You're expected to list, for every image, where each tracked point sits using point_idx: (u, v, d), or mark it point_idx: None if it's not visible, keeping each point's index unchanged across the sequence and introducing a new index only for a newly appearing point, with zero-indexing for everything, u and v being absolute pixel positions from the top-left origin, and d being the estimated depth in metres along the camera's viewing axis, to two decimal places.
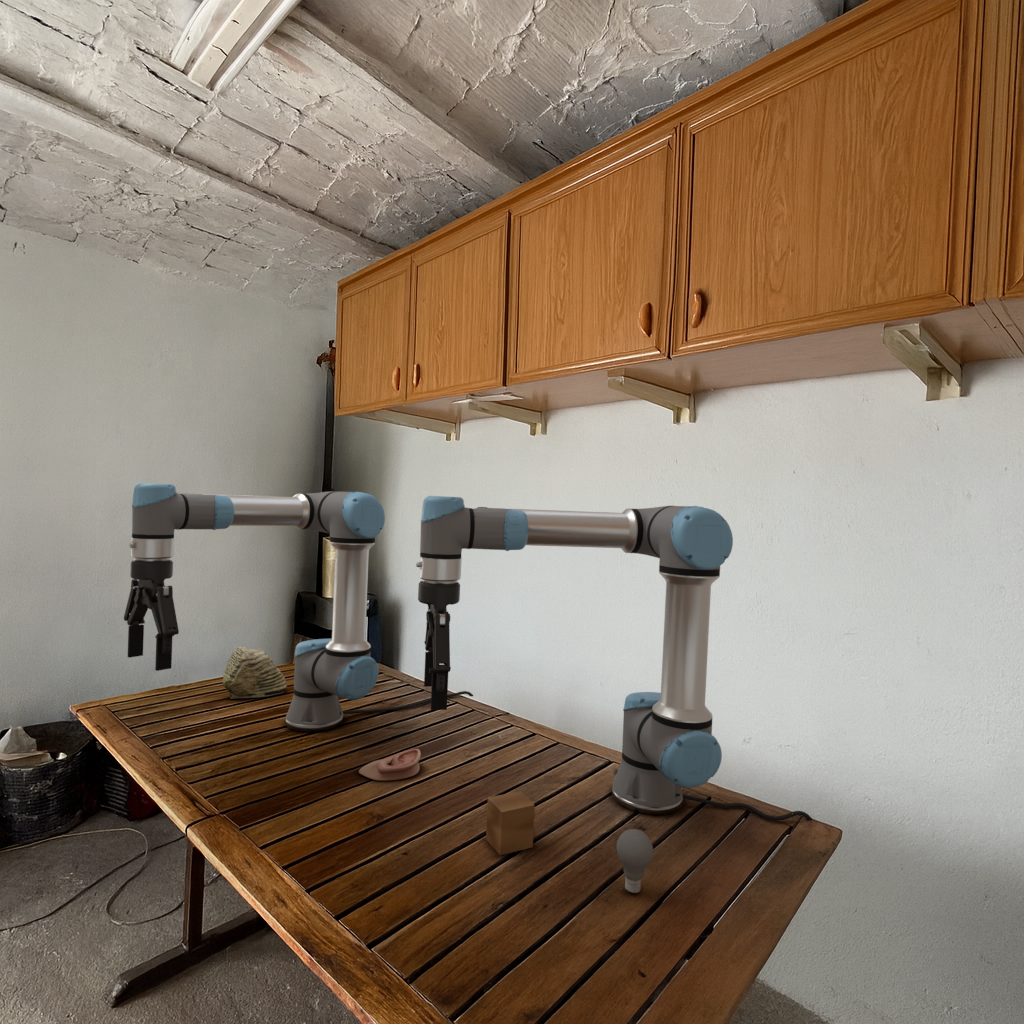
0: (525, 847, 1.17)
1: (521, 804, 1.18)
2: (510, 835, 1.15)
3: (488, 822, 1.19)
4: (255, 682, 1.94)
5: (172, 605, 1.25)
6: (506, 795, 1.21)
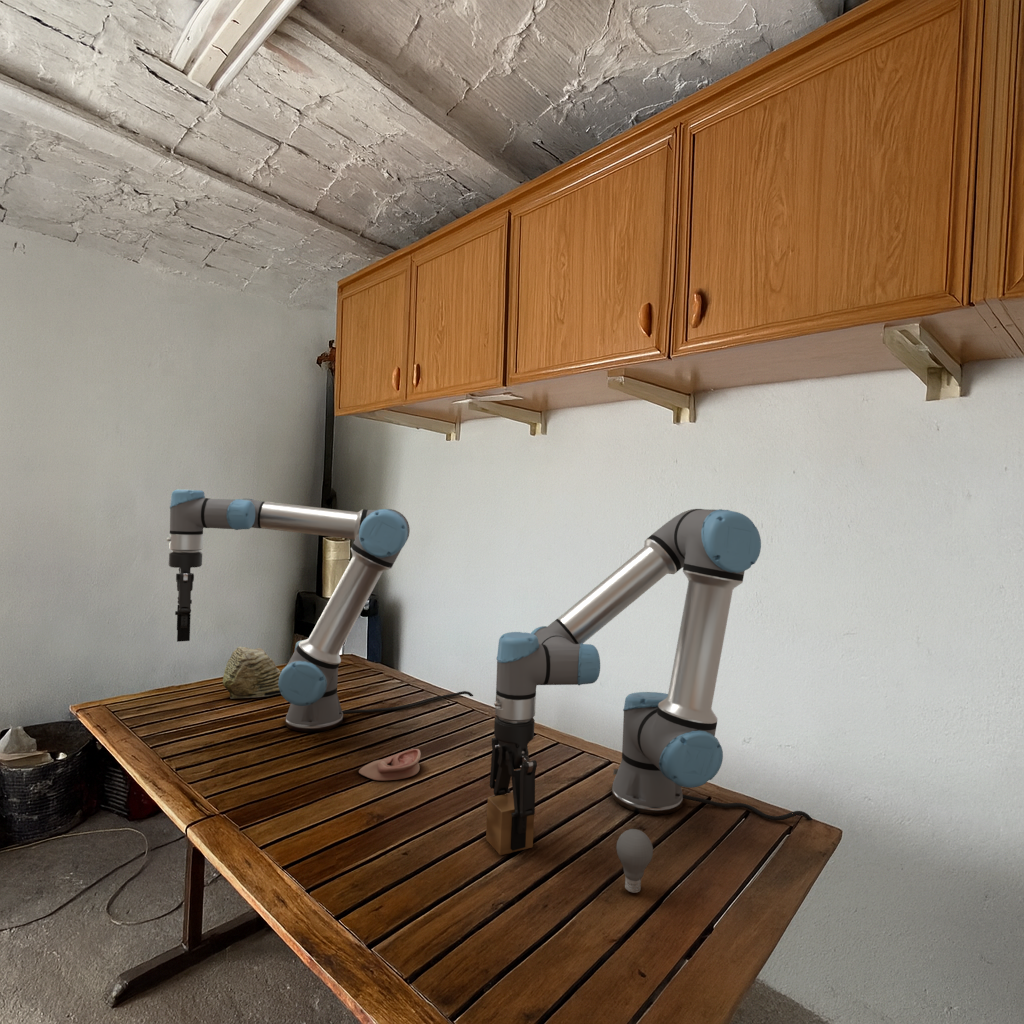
0: (525, 847, 1.17)
1: None
2: (510, 835, 1.15)
3: (488, 822, 1.19)
4: (255, 682, 1.94)
5: (189, 589, 1.53)
6: (506, 795, 1.21)
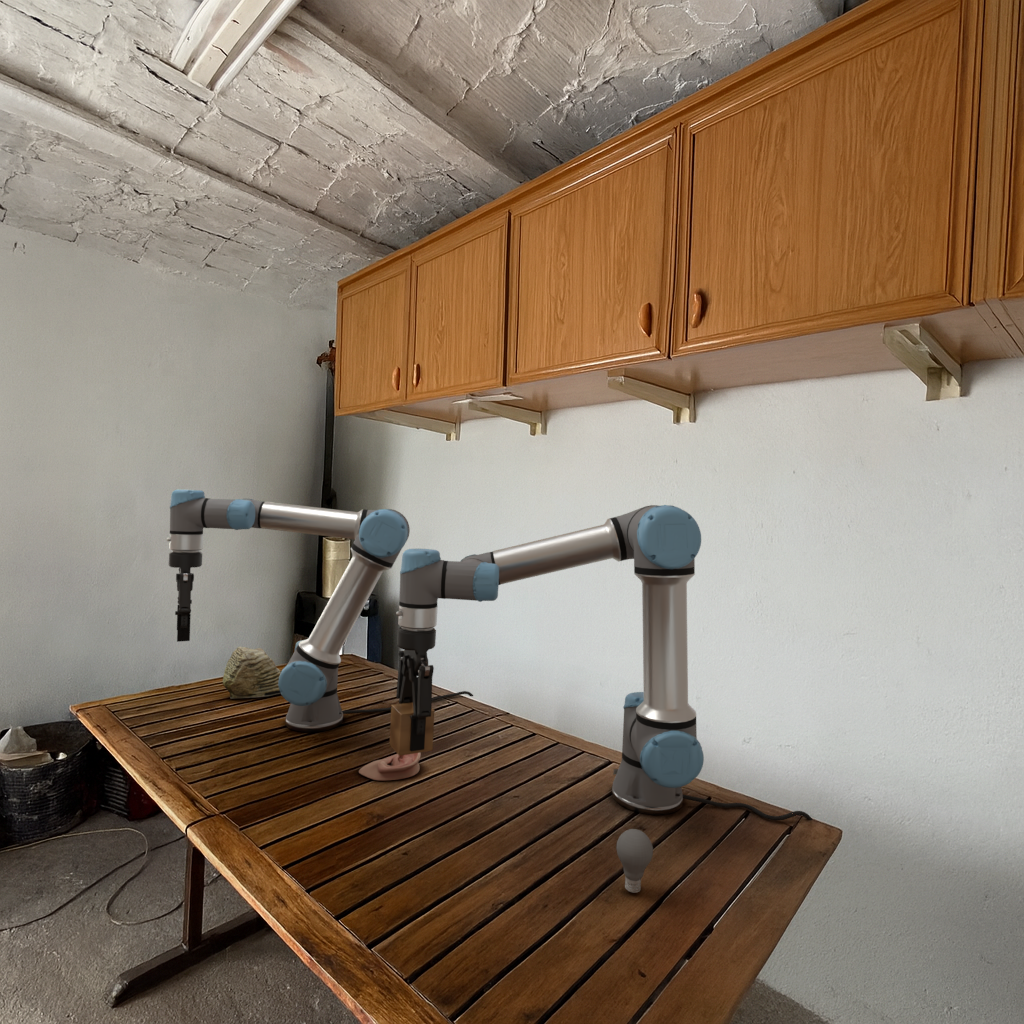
0: (425, 750, 1.24)
1: None
2: (409, 737, 1.22)
3: (391, 727, 1.26)
4: (255, 682, 1.94)
5: (189, 589, 1.53)
6: (410, 703, 1.27)
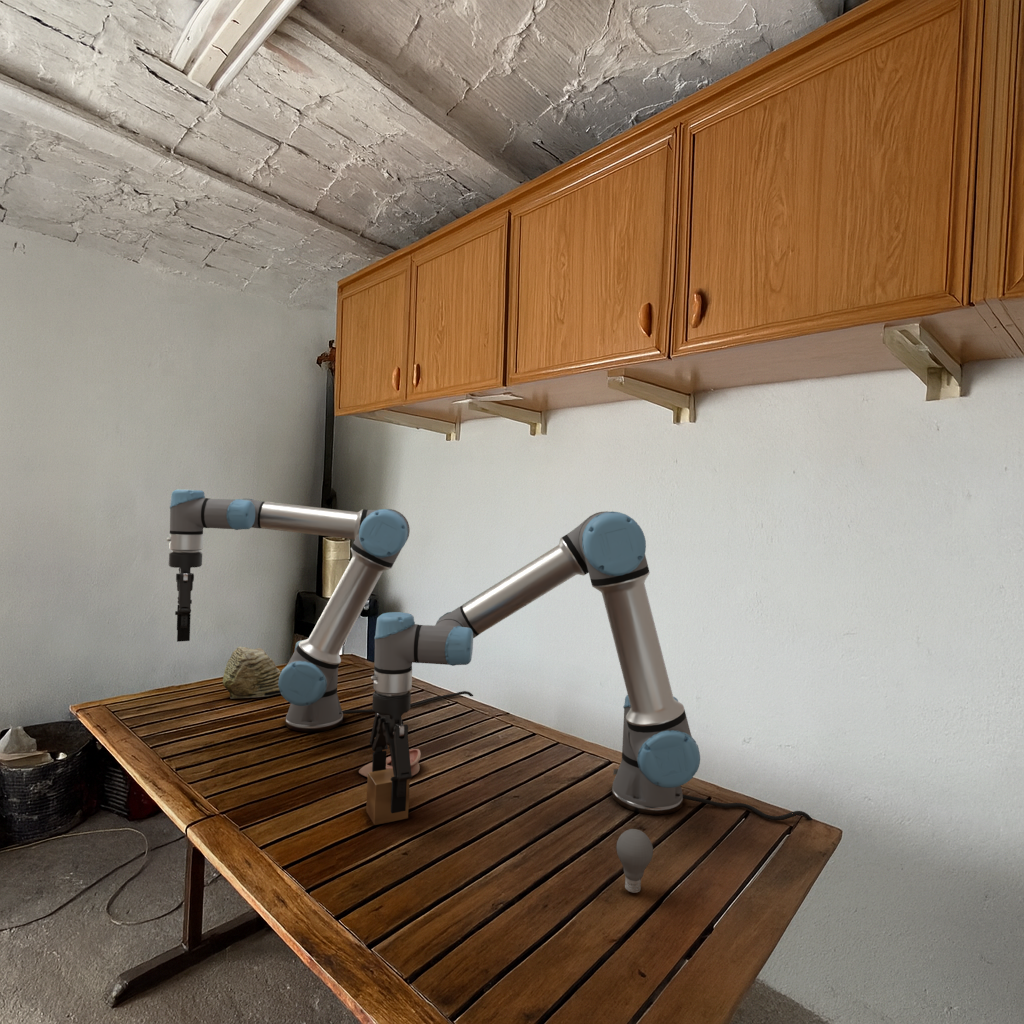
0: (400, 818, 1.26)
1: None
2: (384, 806, 1.24)
3: (367, 795, 1.28)
4: (255, 682, 1.94)
5: (189, 589, 1.53)
6: (386, 770, 1.29)
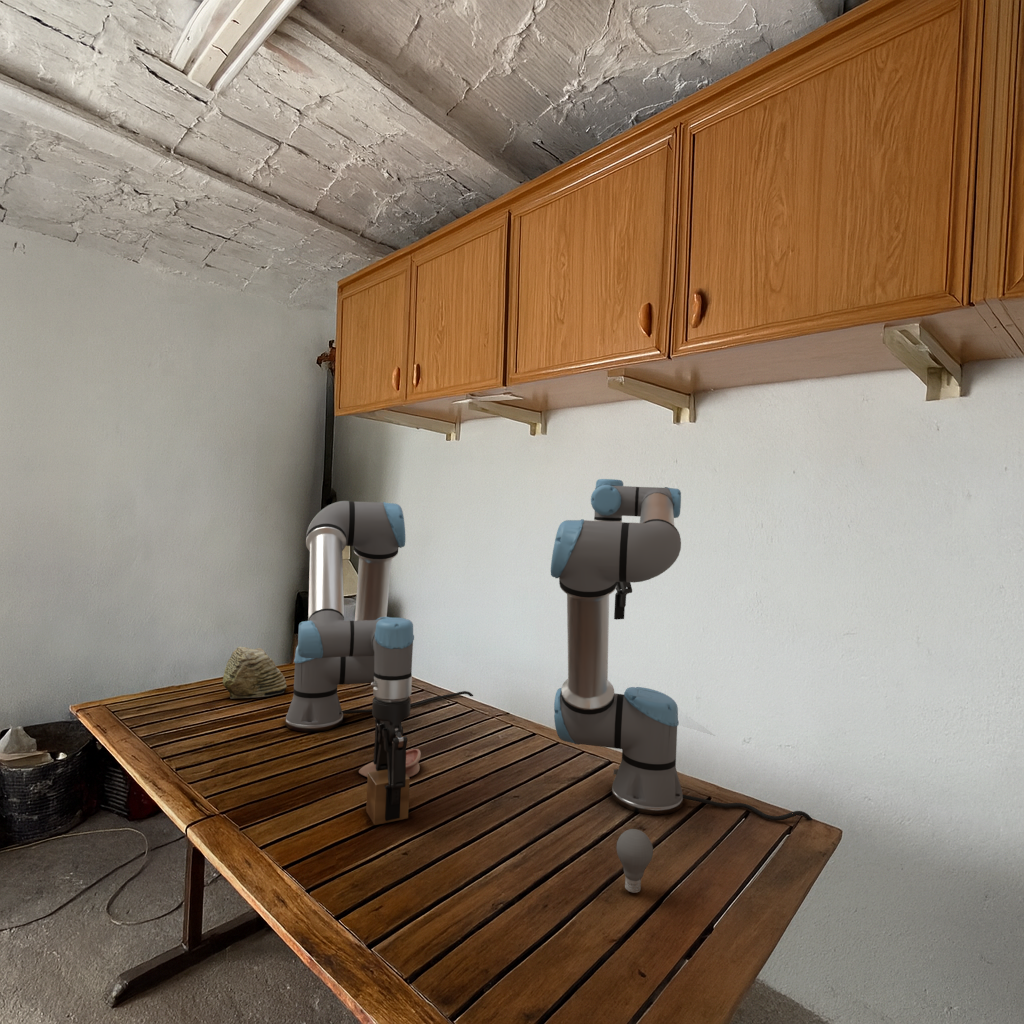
0: (400, 818, 1.26)
1: None
2: (384, 806, 1.24)
3: (367, 795, 1.28)
4: (255, 682, 1.94)
5: (404, 758, 1.22)
6: (386, 770, 1.29)
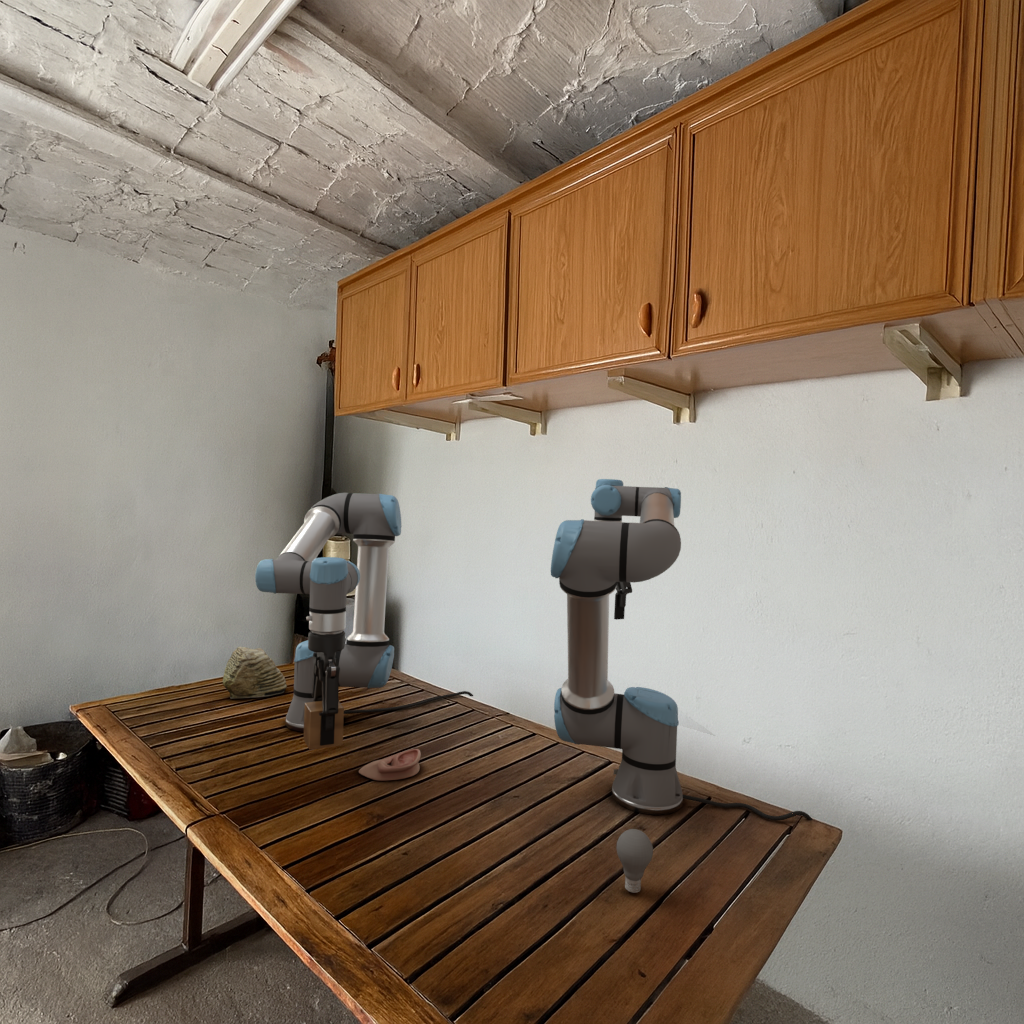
0: (335, 744, 1.33)
1: None
2: (319, 733, 1.32)
3: (304, 724, 1.35)
4: (255, 682, 1.94)
5: (337, 686, 1.30)
6: None
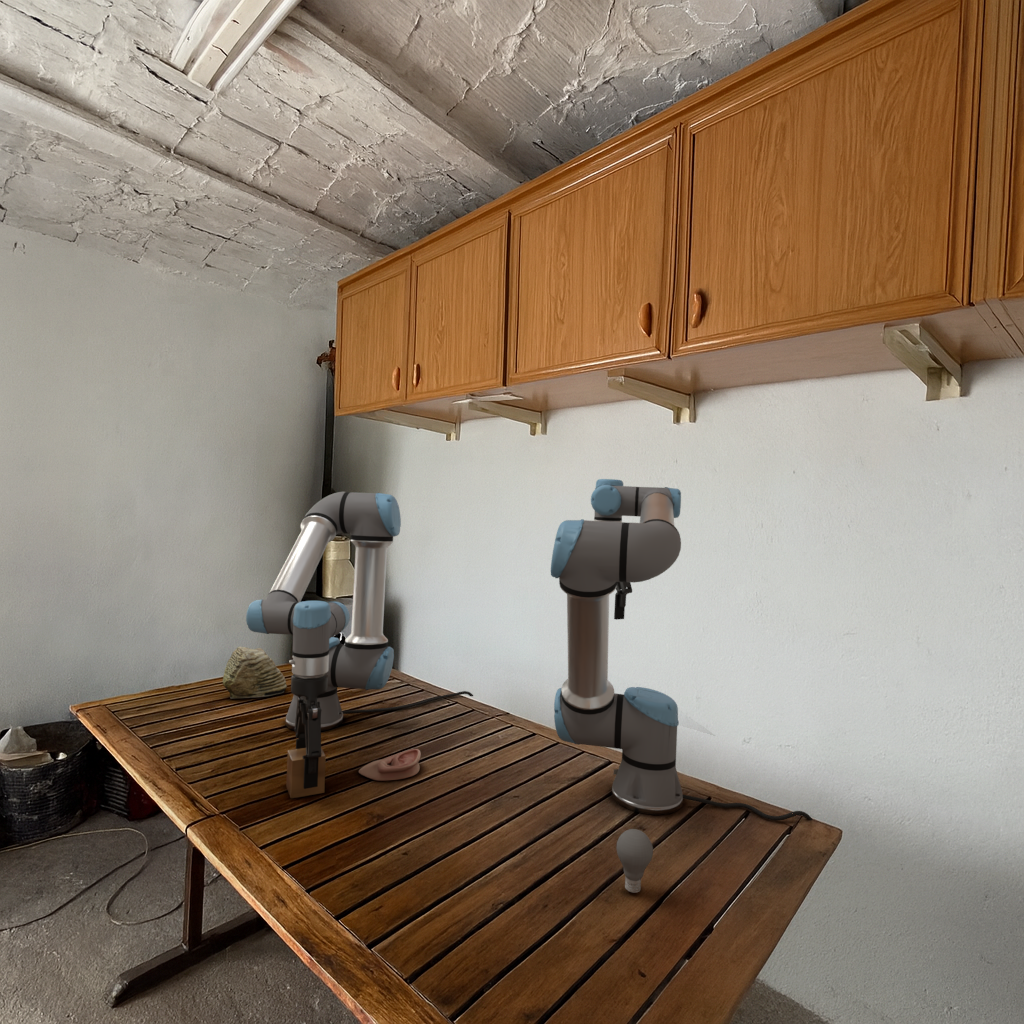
0: (316, 792, 1.35)
1: None
2: (301, 781, 1.33)
3: (287, 771, 1.37)
4: (255, 682, 1.94)
5: (319, 728, 1.30)
6: (305, 748, 1.39)
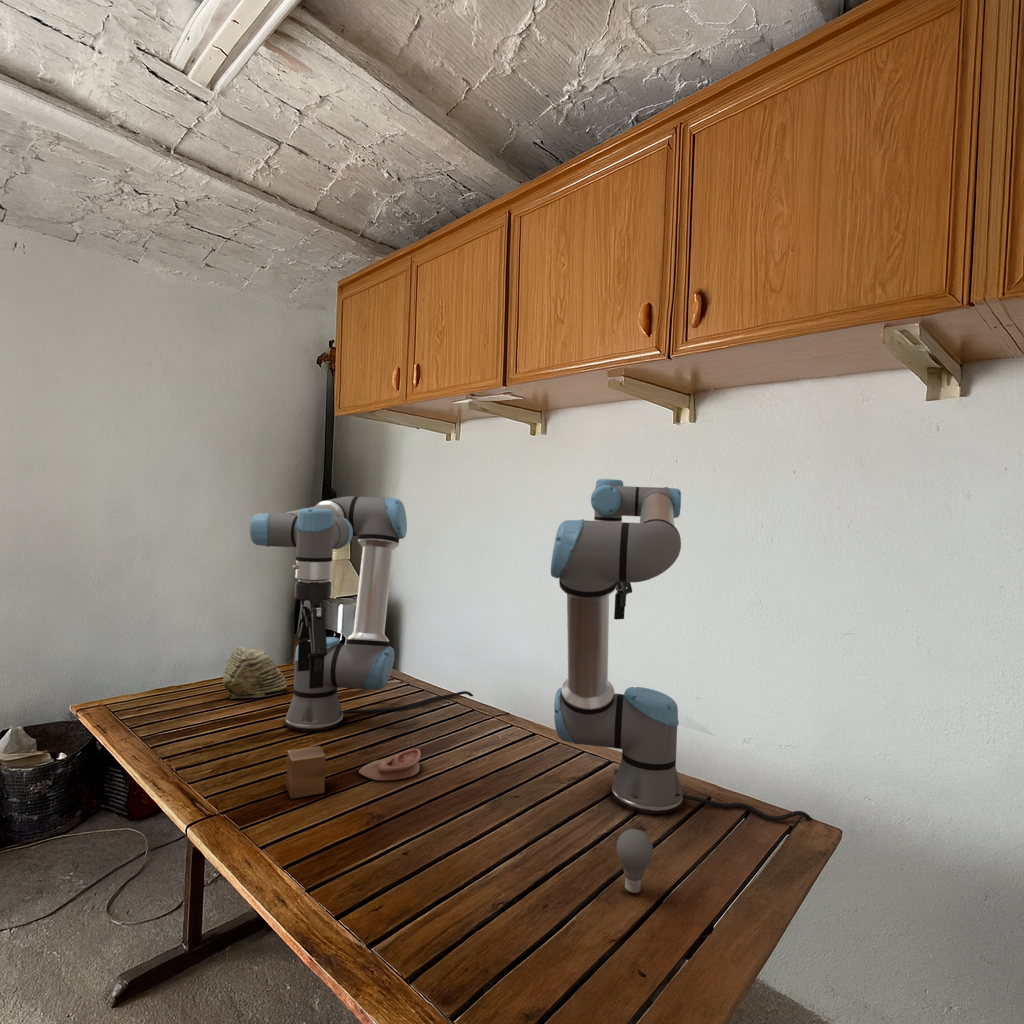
0: (316, 792, 1.35)
1: (313, 755, 1.35)
2: (301, 781, 1.33)
3: (287, 771, 1.37)
4: (255, 682, 1.94)
5: (323, 626, 1.29)
6: (305, 748, 1.39)
